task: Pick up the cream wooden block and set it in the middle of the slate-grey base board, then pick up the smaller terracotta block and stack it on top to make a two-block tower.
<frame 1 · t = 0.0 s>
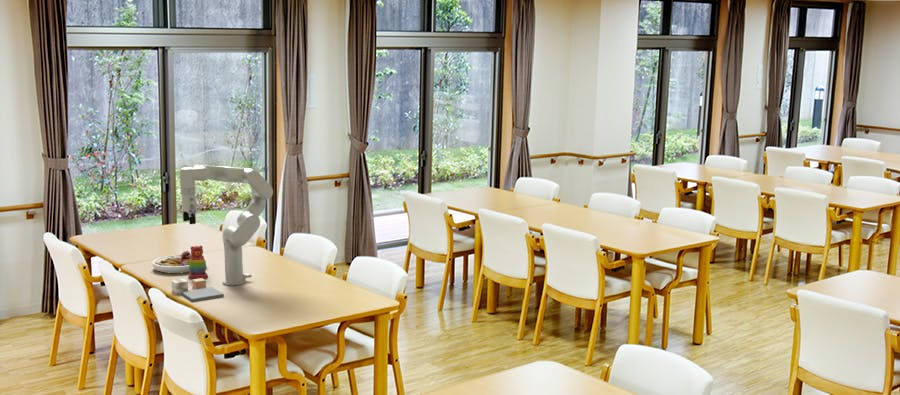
hand: (189, 222, 496), 37 cm above the table, tool pointing down, fingers open, 9 cm apart
stacking bear: (198, 277, 529), on the table
bowl: (179, 269, 548), on the table
terracotta block: (199, 288, 504), on the table
cream block: (180, 291, 498), on the table
base board: (202, 295, 490), on the table
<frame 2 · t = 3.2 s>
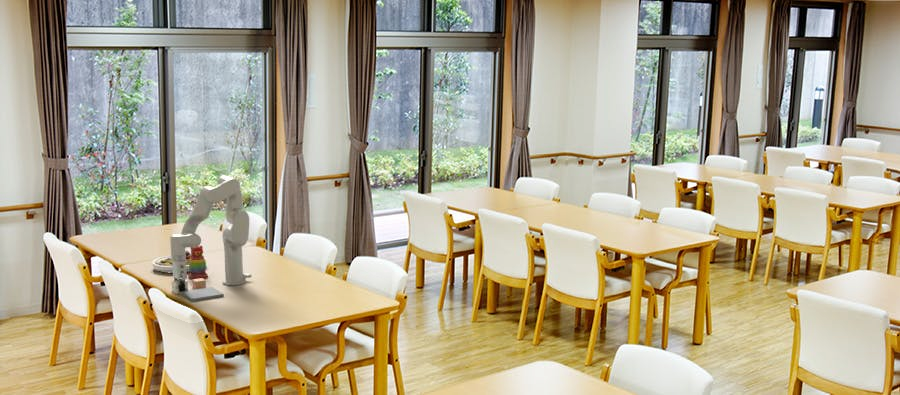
hand: (179, 289, 497), 1 cm above the table, tool pointing down, fingers closed on cream block, 6 cm apart
cream block: (180, 291, 498), on the table, touching gripper
everything else where it was.
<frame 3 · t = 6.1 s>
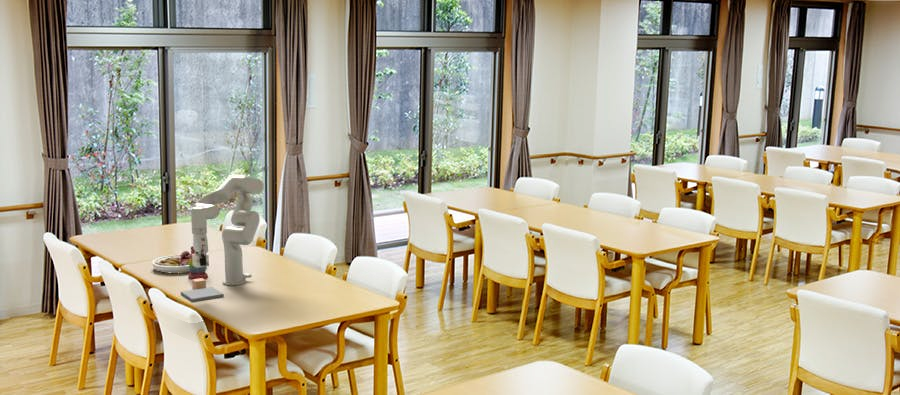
hand: (200, 263, 487), 17 cm above the table, tool pointing down, fingers closed on cream block, 6 cm apart
cream block: (200, 265, 488), point 16 cm above the table, touching gripper
everything else where it was.
when the fingers open (3 cm above the table, at t = 9.1 s): cream block stays where it is, resting on base board.
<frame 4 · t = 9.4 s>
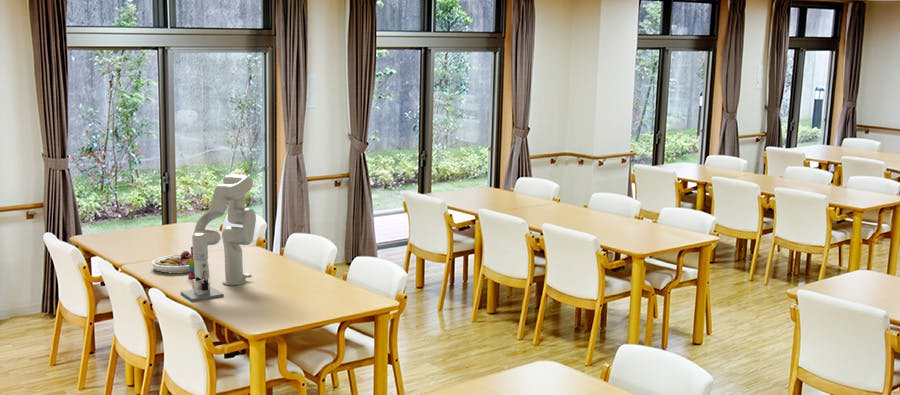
hand: (201, 288, 490), 4 cm above the table, tool pointing down, fingers open, 9 cm apart
cream block: (202, 292, 490), point 1 cm above the table, touching base board
everything else where it was.
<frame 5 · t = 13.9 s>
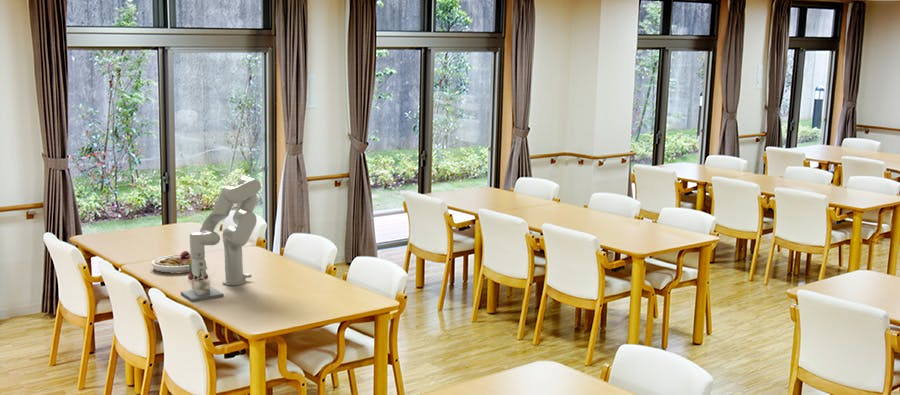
hand: (198, 287, 503), 1 cm above the table, tool pointing down, fingers closed on terracotta block, 5 cm apart
terracotta block: (199, 288, 504), on the table, touching gripper
everything else where it was.
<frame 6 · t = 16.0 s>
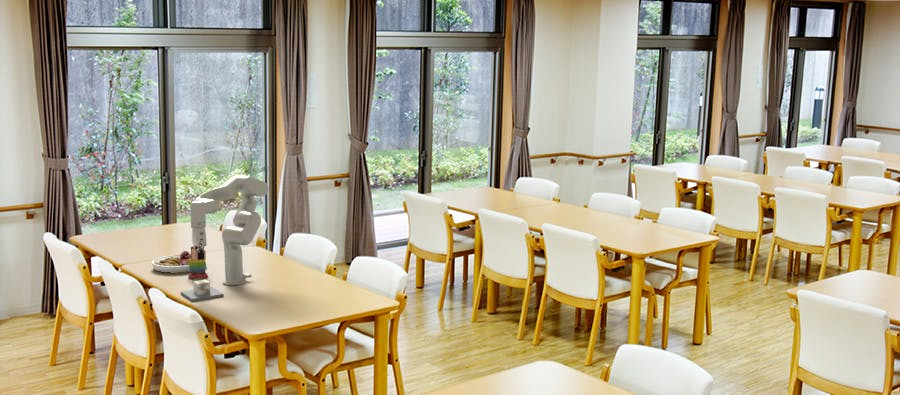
hand: (199, 258, 489), 20 cm above the table, tool pointing down, fingers closed on terracotta block, 5 cm apart
terracotta block: (199, 259, 489), point 19 cm above the table, touching gripper
everything else where it was.
when the fingers open (9 cm above the table, at t = 18.6 s): terracotta block stays where it is, resting on cream block.
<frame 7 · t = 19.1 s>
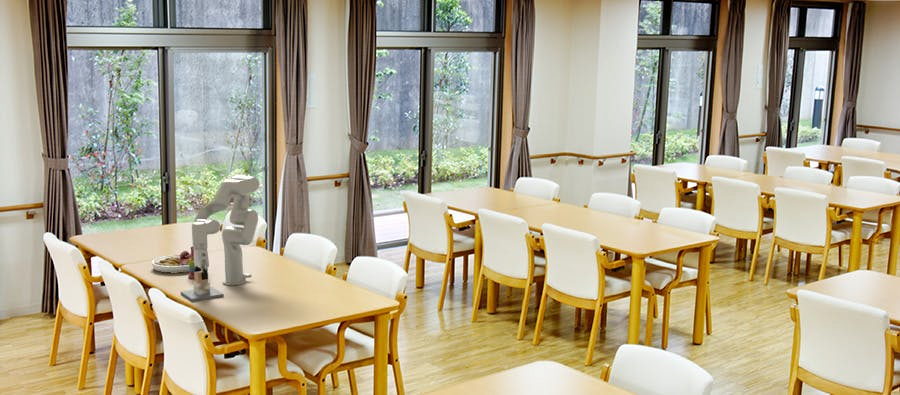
hand: (201, 277, 489), 10 cm above the table, tool pointing down, fingers open, 9 cm apart
terracotta block: (201, 281, 489), point 7 cm above the table, touching cream block
cream block: (202, 292, 490), point 1 cm above the table, touching base board, terracotta block
everything else where it was.
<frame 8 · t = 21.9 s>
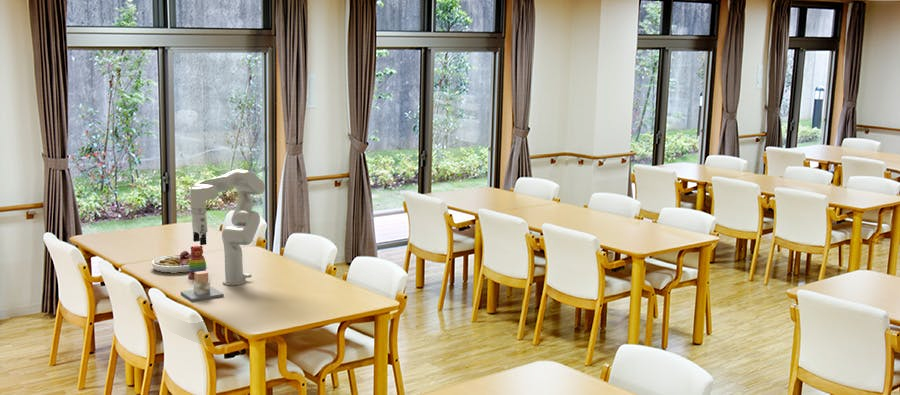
hand: (199, 243, 486), 28 cm above the table, tool pointing down, fingers open, 9 cm apart
nothing on the table moved.
at the end: cream block 0.1 cm off-centre on the base board, point 1.5 cm above the base board's base; terracotta block 0.0 cm off-centre on the cream block, point 6.0 cm above the cream block's base; terracotta block tilted 0° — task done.
